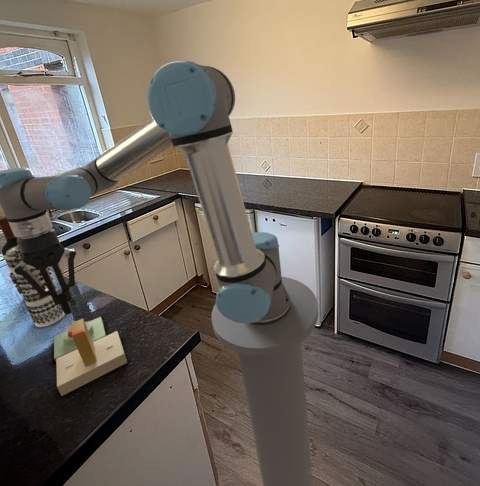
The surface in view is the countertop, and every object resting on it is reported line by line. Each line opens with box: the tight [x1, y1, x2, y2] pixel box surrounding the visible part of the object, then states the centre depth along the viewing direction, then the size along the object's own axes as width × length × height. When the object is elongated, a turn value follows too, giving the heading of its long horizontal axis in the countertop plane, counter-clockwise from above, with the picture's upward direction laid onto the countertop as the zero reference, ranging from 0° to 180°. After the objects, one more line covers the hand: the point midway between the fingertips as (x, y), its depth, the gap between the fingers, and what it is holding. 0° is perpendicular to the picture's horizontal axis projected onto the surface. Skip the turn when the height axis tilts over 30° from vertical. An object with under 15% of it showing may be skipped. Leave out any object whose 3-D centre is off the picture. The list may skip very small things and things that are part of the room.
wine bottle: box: [0, 216, 19, 286], centre depth 101 cm, size 8×8×30 cm
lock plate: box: [55, 330, 128, 397], centre depth 74 cm, size 14×10×3 cm
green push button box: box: [53, 316, 107, 362], centre depth 83 cm, size 12×10×3 cm
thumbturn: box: [70, 318, 97, 366], centre depth 72 cm, size 6×2×9 cm, turn 35°
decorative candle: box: [2, 245, 66, 328], centre depth 90 cm, size 9×9×25 cm
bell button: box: [66, 324, 72, 337], centre depth 83 cm, size 4×4×2 cm
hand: (68, 311), depth 80 cm, fingers closed
